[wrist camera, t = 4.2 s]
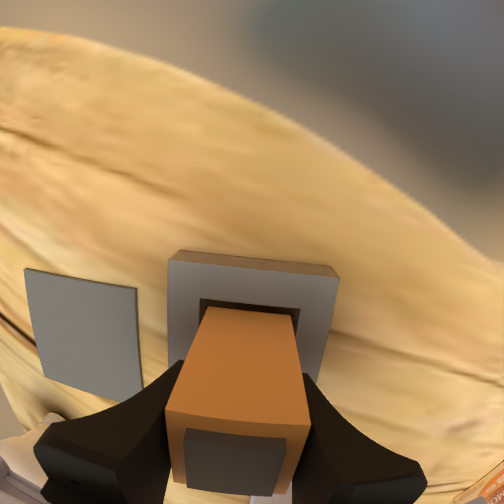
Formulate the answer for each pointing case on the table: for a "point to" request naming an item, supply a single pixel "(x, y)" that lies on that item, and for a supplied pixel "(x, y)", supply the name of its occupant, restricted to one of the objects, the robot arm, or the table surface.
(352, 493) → the robot arm
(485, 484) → the coffeecake box
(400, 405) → the table surface
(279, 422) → the plug
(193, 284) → the grey flat frame
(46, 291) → the mat
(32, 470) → the lightbulb
